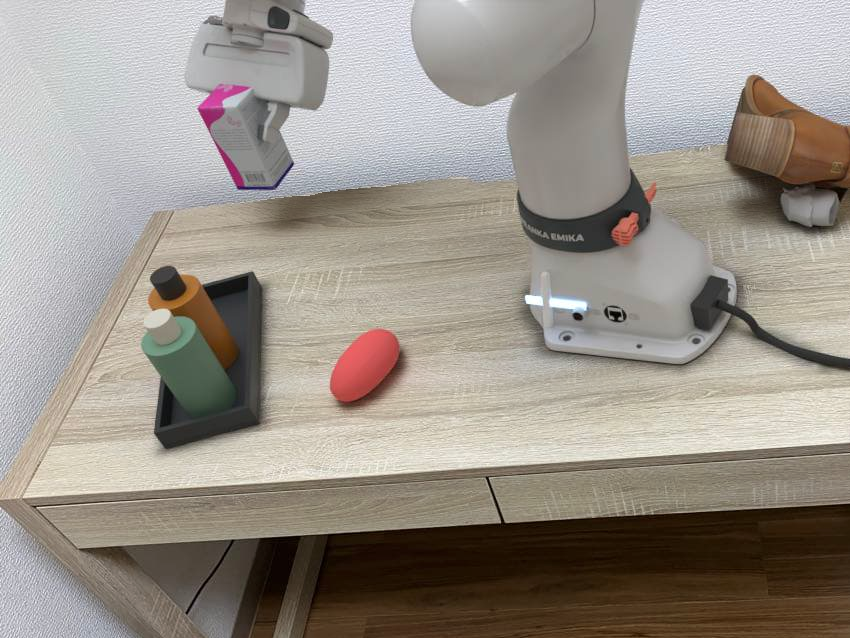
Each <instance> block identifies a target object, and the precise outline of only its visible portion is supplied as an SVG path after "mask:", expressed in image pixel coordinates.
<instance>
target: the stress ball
mask: <svg viewBox="0 0 850 638" xmlns="http://www.w3.org/2000/svg"><path fill="white" fill-rule="evenodd" d="M400 347H401V345H400V341H399V339H398V338H397V336H396V335H395V333H393V332H392V331H390V330H388V329H385V328H374V329H370V330H368V331H365V332H364V333H363V334H361V335H359V336H358V337H357V338H356V339H355V340H354V341H353V342H352V343H351V344H350V345H349V346H348V347H347V348H346V349H345V351H344V352H343V353H342V354H341V355H340V357H339V359H338V360H337V361H336V363H335V365H334V367H333V370H332V371H331V376H330V379H329V390H330V392H331V394H332V395H333V397H334V398H335V399H336V400H339V401H341V402H345V403H349V402H352V401H356V400H359V399H361V398H363V397H365V396H366V395H368V394H369V393H370V392H371V391H373V390H374V389H375V388H376V387H377V386H378V385H379V384H380V383H381V382H382V381H383V380H384V379H385V378H386V376H387V375H388V374H390V372H391V370H392V369H393V368H394V367H395V365H396V363H397V361H398V359H399V356H400V349H401V348H400Z"/></svg>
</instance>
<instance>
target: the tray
mask: <svg viewBox="0 0 850 638" xmlns="http://www.w3.org/2000/svg"><path fill="white" fill-rule="evenodd" d="M258 279H259V278H258V277H257V276H256V273H255V272H254V270H251V271H247V272H243V273H240V274H236V275H233V276H229V277H226V278H221V279H218V280H214V281H211V282H207V283H204V284H201V285H202V287H203V288H204V290H205V292H206V293H207V295H208V297H209V298H210V300H211V302H212V304H213V305H214V307H215V309H216V310H217V312H218V314H219V315H220V317H221V319H222V321H223V322H224V324H225V326H226V327H227V329H228V331H229V332H230V334H231V336H232V338H233V339H234V341H235V343H236V344H237V346H238V349H239V353H238V356H237V358H236V360H235V362H234V363H233V364H232V365H231V366H230V367H228V368H227V369H226V370H224V371H225V373H226V374H227V376H228V377H229V379H230V381H231V382H232V384H233V385H234V387H235V389H236V391H237V398H236V401H235V403H234V405H233V406H232V407H231V408H230V409H228V410H224V411H220V412H217V413H213V414H209V415H206V416H202V417H198V418H194V419H191V418H190V417H189V416H188V414H187V413H186V412H185V410H184V409H183V407H182V406H181V404H180V403H179V402H178V400H177V399H176V397H175V396H174V394H173V393H172V392H171V390H170V389H169V387H168V386H167V384H166V383H165V382H164V380H163V379H162V377H161V376H160V379H159V388H158V397H157V404H156V410H155V411H156V412H155V420H154V427H153V435H154V436H155V437H156V438H157V440H158V441H159V442H160V444H161V445H162V447H163V448H164V449H165V450H167V449H170V448H174V447H179V446H181V445H186V444H188V443H192V442H197V441H200V440H204V439H207V438H212V437H216V436H218V435H223V434H226V433H229V432H233V431H238V430H240V429H244V428H245V429H246V428H248V427H251V426H255V425H258V424H260V419H261V417H260V415H261V412H260V410H261V408H260V407H261V356H262V355H261V351H262V350H261V348H262V347H261V346H262V345H261V344H262V290H263V289H262V284H261V283H260V281H259V280H258Z"/></svg>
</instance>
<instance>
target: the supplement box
mask: <svg viewBox="0 0 850 638" xmlns="http://www.w3.org/2000/svg"><path fill="white" fill-rule="evenodd" d="M268 105H269V104H268V103H267V101H266V100H262V99H257V98H255V97H254V91H253V88H252V87H246V86H238V85H227V84H219V85H218V86H217V87H216V88H215V90H214V91H213V92H212V93H211V94H208V96H207V97H206V98H205V99H204V100H203V101H202V102H201V103H200V104H199V105H198V106H197V111H198V113H199V116H200V117H201V119H202V121H203V124H204V125H205V127H206V129H207V131H208V132H209V135H210V137H211V139H212V141H213V143H214V145H215V147H216V149H217V151H218V153H219V155H220V157H221V159H222V161H223V163H224V165H225V167H226V169H227V171H228V173H229V175H230V177H231V178H232V181H233V183H234V185H235V187H236V189H237V190H238V191H276V190H277V188H279V186H280V184H281V183H282V182H283V181H284V180H285V178H286V177H287V175H288V174H289V173H290V171H291V170H292V168H293V167H294V165H295V162H294V159H293V158H292V154H291V153H290V150H289V149H288V147H287V144H286V142H285V140H284V137H283V135H282V133H281V131H280V130H281V129H279V130H278V136H277V141H276V143H275V144H272V143H267V142H263V141H260V140H258V138H257V134H258V133H259V132H258V128H259V125H264V124H265V122H266V120H267V118H268V117H269V115H270V113H271V111H268Z"/></svg>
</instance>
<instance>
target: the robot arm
mask: <svg viewBox="0 0 850 638" xmlns="http://www.w3.org/2000/svg"><path fill="white" fill-rule="evenodd" d="M644 2H645V0H414V2H413V5H412V8H411V12H410V36H411V42H412V46H413V50H414V54H415V56H416V58H417V61H418V63H419V65H420V67H421V69H422V71H423V72H424V74H425V75H426V76H427V78H428V79H429V80H430V81H431V82H432V84H433V85H434V86H435V87H436V88H438V90H440V91H441V92H442V93H443V94H444V95H446V96H447V97H449V98H451V99H453V101H454V100H455V101H456V102H458V103H461V104H463V105H467V106H469V107H477V108H478V107H485V106H488V105H490V104H493V103H495V102H498V101H500V100H502V99H505V98H508V97H509V96H512V95H514V94H515V95H514V97H513V98H512V101H511V103H510V106H509V109H508V113H507V118H506V127H505V129H506V130H505V131H506V140H507V143H508V148H509V152H510V157H511V161H512V166H513V170H514V174H515V179H516V183H517V191H516V203H517V207H518V212H519V213H518V214H519V218H520V223H521V227H522V230H523V232H524V234H525V235H526V236H527V238H528V239H527V240H528V246H529V255H530V290H529V295H528V294H526V295H525V296H524V299H525V302H526V304H528V305H529V309H530V312H531V314H532V316H533V318H534V319H535V320H536V321H537V323H538V324H539V326H540V327H541V328H542V330H543V339H544V343H545V345H546V347H547V348H548V349H549V350H551V351H554V352H564V353H573V354H581V355H582V354H583V355H590V356H599V357H609V358H617V359H626V360H627V359H628V360H634V361H635V360H636V361H645V362H654V363H662V364H671V365H683V364H684V365H685V364H687V363H689V362H691V361H693V360H694V359H696V358H698V357H699V356H700V355H702V354H704V353H705V352H706V351H707V350H708V349H709V348H710V347H711V346H712V345H713V344H714V343H715V341H716V340H717V339H718V337H720V335H721V334H722V332H723V330H724V329H725V328H726V326H727V324H728V322H729V321H730V318H731V316H734V317H736V318H739V319H740V320H742V321H743V322H745V324H747V326H748V327H749V329H750V331H751V332H752V333H753V334H754V335H755V336H756V337H758V338H760V339H761V340H762V341H764V342H766V343H767V344H769V345H771V346H773V347H775V348H778V349H780V350H782V351H784V352H786V353H788V354H791V355H794V356H797V357H800V358H804V359H807V360H811V361H816V362H820V363H824V364H828V365H832V366H836V367H837V366H838V367H844V368H850V358H848V357H842V356H836V355H832V354H829V353H824V352H819V351H815V350H811V349H807V348H803V347H799V346H797V345H794V344H790V343H789V342H786V341H783V340H782V339H780V338H778V337H776V336H775V335H773V334H771V333H769V332H768V331H766V330H765V329H763V328H762V327H761V326H760V325H759V324H758V322H757V321H756V319H755V317H753V316H752V315H751V314H750V313H749V312H747V311H746V310H744V309H742V308H739V307H737V306H736V303H737V298H738V287H737V282H736V278H735V275H734V273H733V272H731V271H730V270H728V269H725V268H722V267H719V266H717V265H714V264H713V260H712V257H711V254H710V251H709V249H708V246H707V245H706V244H705V242H704V241H703V240H702V239H701V238H699V237H697V236H696V235H695V234H694V233H691V232H690V231H689V230H687V229H686V228H685V227H683V226H684V225H683V224H682V222H681V221H679V219H677V218H675V217H669V216H667V215H665V213H663V212H662V211H661V210H658V208H656V207H655V206H653V205H652V204H651V203H652V202H653V200H654V198H655V197H656V195H657V192H658V190H657V189H656V187H657V182H653V183H652V184H651V185H650V187H649V188H648V190H646V192H645V190H644V188H643V187H642V184H641V183H640V181H639V179H638V178H637V176H636V174H635V172H634V171H633V169H632V168H631V165H630V158H629V157H630V156H629V146H628V134H627V121H626V95H627V87H628V86H627V85H628V79H629V78H628V76H629V73H630V72H629V71H630V66H631V61H632V56H633V55H632V54H633V48H634V43H635V37H636V32H637V28H638V24H639V20H640V16H641V12H642V8H643V5H644ZM305 9H306V0H225V2H224V10H223V14H222V15H223V16H218V15H209V16H208V17H207V19H205V20H203V22H202V23H200V24H199V26H198V30H197V32H196V33H195V35H194V38H193V40H192V43H191V45H190V49H189V53H188V57H187V61H186V66H185V70H184V82H185V84H186V87H187V88H188V89H190V90H193V91H196V92H199V93H203V94H206V95H210V94H211V93H212V92H213V91H214V90H215V88H216V87H217V86H218V85H219V84H227V85H238V86H246V87H252V88H253V91H254V97H255V98H257V99H262V100H266V101H267V103H268V111H271V113H270V115H269V117H268V118H267V120H266V122H265V124H264V125H259V128H258V132H259V133H258V134H257V138H258V140H260V141H263V142H267V143H272V144H275V143H276V141H277V136H278V130H281V128H282V127H283V125H284V124H285V123H286V121H287V120H288V118H289V117H290V112H291V108H295V109H301V110H307V111H313V112H315V111H317V110H318V109H319V108H320V107H321V106H322V105H323V103H324V102H325V97H326V92H327V87H328V83H329V82H328V81H329V74H330V55H329V54H328V52H327V51H326V50H329V49H331V48H332V45H333V42H334V33H333V31H331V30H330V29H328V28H327V27H325V26H323V25H322V24H320V23H318V22H316V21H314V20H312V19H310V16H308V15H306V14H305Z"/></svg>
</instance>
